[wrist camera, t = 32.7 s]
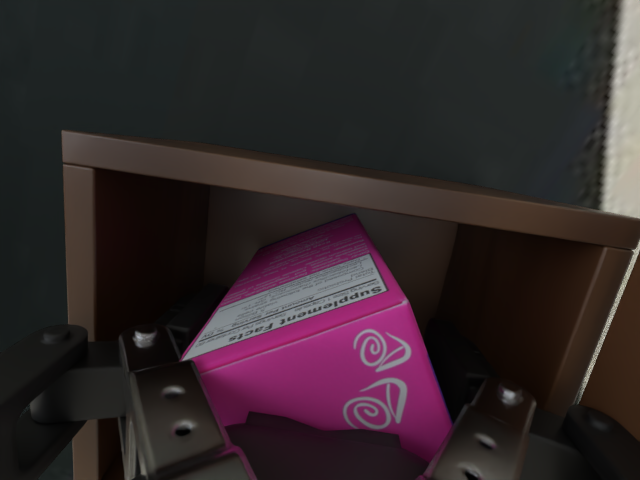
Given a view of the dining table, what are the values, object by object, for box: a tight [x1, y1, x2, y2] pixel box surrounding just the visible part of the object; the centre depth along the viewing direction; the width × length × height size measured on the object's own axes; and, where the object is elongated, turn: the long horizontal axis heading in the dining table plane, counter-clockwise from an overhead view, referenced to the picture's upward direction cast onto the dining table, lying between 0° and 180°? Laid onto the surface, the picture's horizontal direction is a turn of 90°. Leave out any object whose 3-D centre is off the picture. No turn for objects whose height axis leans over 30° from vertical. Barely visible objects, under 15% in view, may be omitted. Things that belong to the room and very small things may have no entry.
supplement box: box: [180, 213, 453, 463], centre depth 13 cm, size 6×6×12 cm
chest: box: [61, 130, 640, 480], centre depth 14 cm, size 15×12×10 cm
